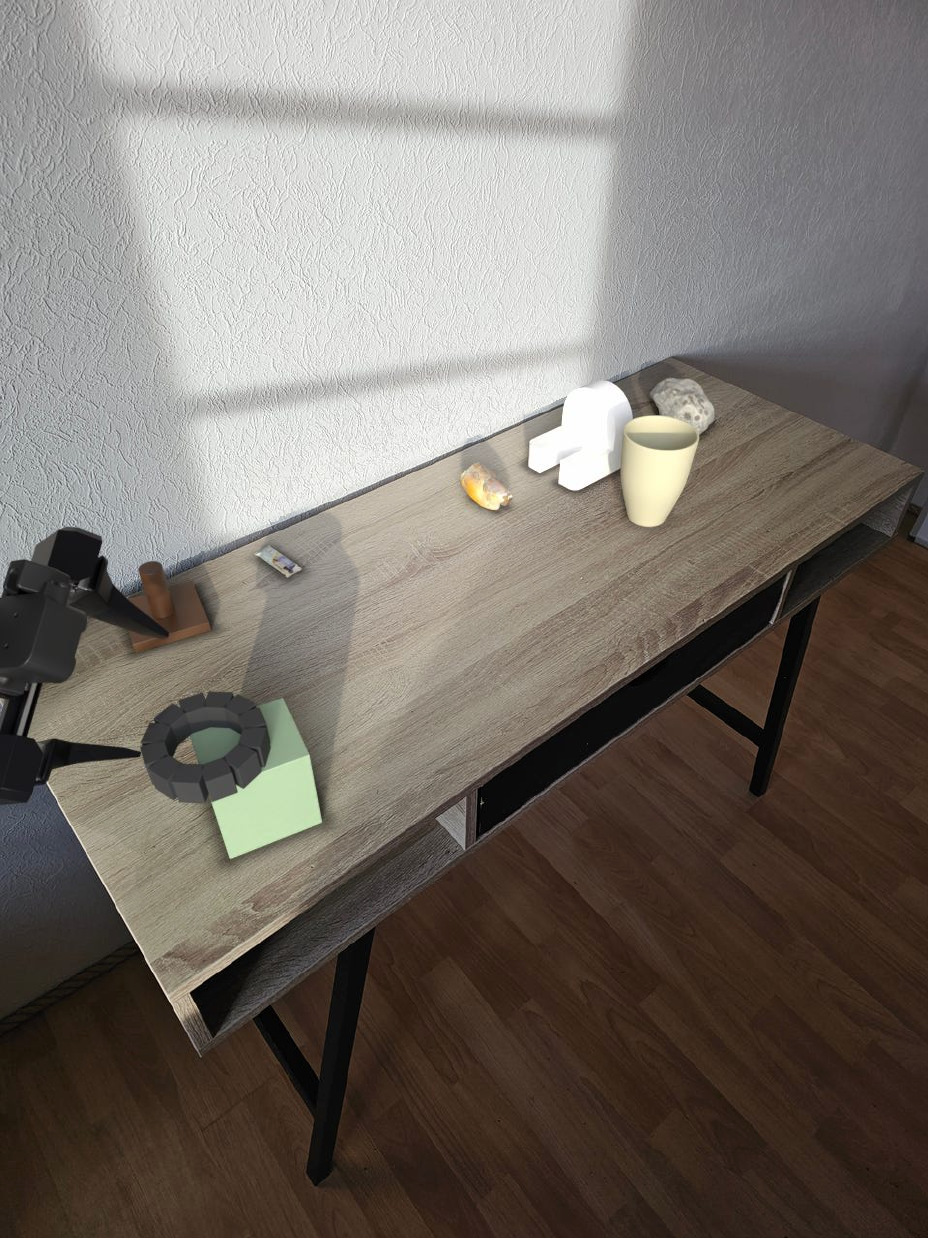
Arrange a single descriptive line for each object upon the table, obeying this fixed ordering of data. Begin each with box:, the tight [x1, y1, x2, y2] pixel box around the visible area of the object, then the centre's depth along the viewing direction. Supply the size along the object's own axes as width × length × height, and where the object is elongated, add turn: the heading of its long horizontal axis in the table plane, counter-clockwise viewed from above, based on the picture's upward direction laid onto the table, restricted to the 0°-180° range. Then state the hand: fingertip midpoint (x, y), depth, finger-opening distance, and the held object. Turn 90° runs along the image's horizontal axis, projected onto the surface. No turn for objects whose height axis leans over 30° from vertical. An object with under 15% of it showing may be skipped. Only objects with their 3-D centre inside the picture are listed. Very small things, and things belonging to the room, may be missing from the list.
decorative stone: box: [649, 377, 715, 435], centre depth 125 cm, size 12×11×5 cm
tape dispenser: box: [527, 379, 634, 491], centre depth 114 cm, size 10×18×11 cm, turn 131°
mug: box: [620, 414, 700, 528], centre depth 103 cm, size 11×10×12 cm
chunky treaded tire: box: [139, 690, 271, 805], centre depth 63 cm, size 9×9×2 cm
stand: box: [127, 560, 212, 654], centre depth 88 cm, size 8×8×7 cm
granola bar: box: [254, 545, 303, 579], centre depth 97 cm, size 7×2×1 cm, turn 46°
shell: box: [460, 462, 514, 511], centre depth 107 cm, size 8×4×5 cm, turn 49°
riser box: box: [189, 697, 323, 860], centre depth 68 cm, size 8×7×9 cm
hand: (153, 694), depth 61 cm, fingers open, 9 cm apart
